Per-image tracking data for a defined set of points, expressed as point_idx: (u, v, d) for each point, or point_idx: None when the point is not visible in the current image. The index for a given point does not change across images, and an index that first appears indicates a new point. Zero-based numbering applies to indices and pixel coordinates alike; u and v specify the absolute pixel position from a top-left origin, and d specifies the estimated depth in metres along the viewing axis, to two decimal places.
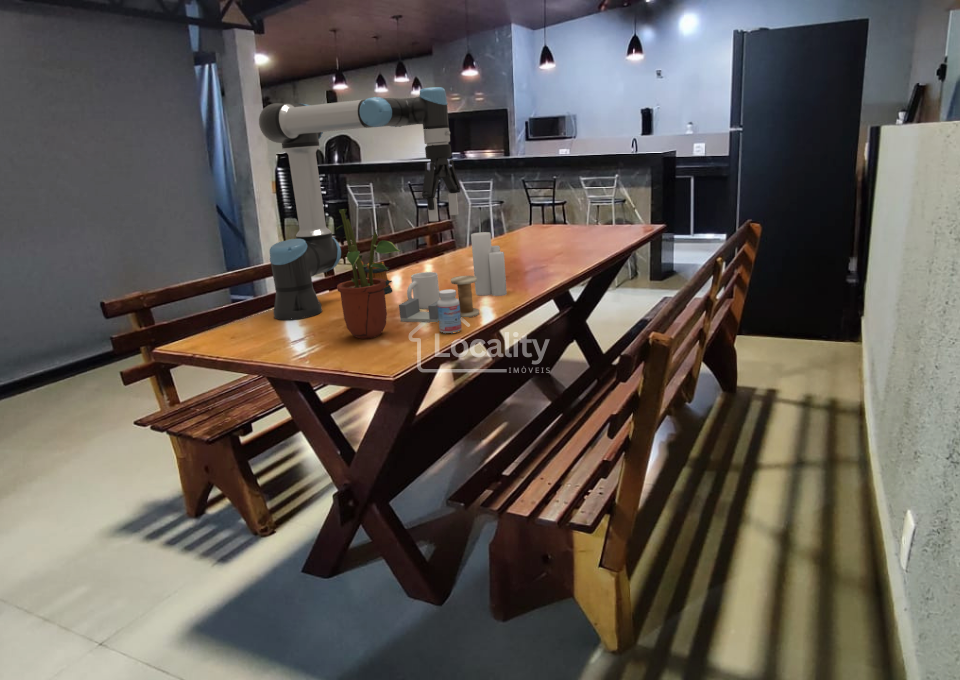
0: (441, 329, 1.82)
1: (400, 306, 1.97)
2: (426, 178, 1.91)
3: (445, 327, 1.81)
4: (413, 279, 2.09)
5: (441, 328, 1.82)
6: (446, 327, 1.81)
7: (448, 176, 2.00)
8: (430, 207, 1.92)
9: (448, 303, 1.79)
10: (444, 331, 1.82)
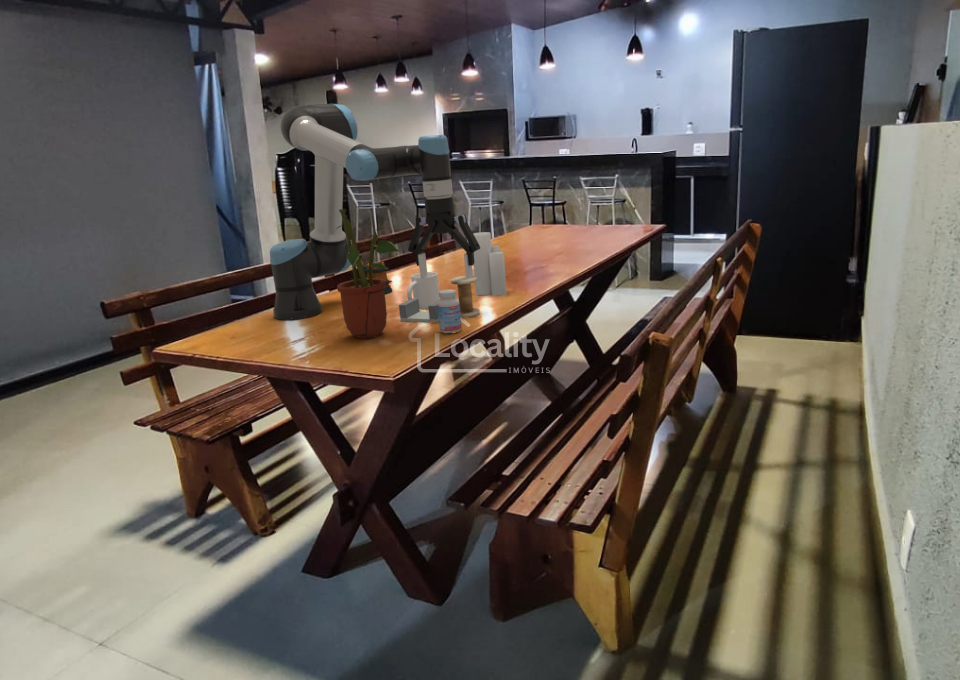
0: (441, 329, 1.82)
1: (400, 306, 1.97)
2: None
3: (445, 327, 1.81)
4: (413, 279, 2.09)
5: (441, 328, 1.82)
6: (446, 327, 1.81)
7: None
8: None
9: (448, 303, 1.79)
10: (444, 331, 1.82)
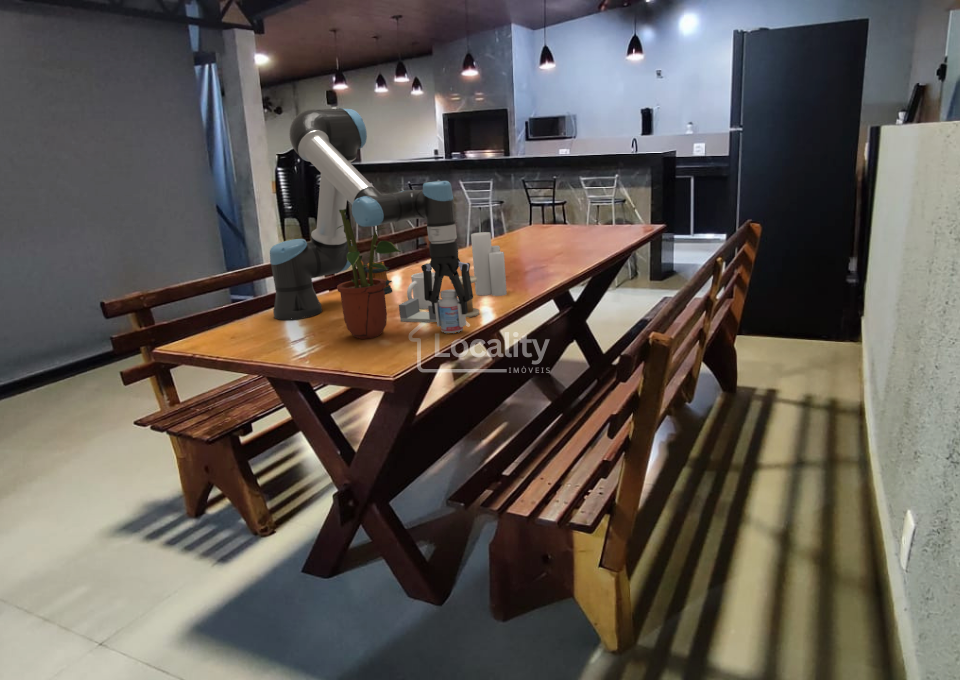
0: (443, 329, 1.82)
1: (400, 306, 1.97)
2: None
3: (447, 327, 1.81)
4: (413, 279, 2.09)
5: (443, 329, 1.82)
6: (447, 327, 1.81)
7: None
8: None
9: (450, 303, 1.79)
10: (446, 331, 1.82)
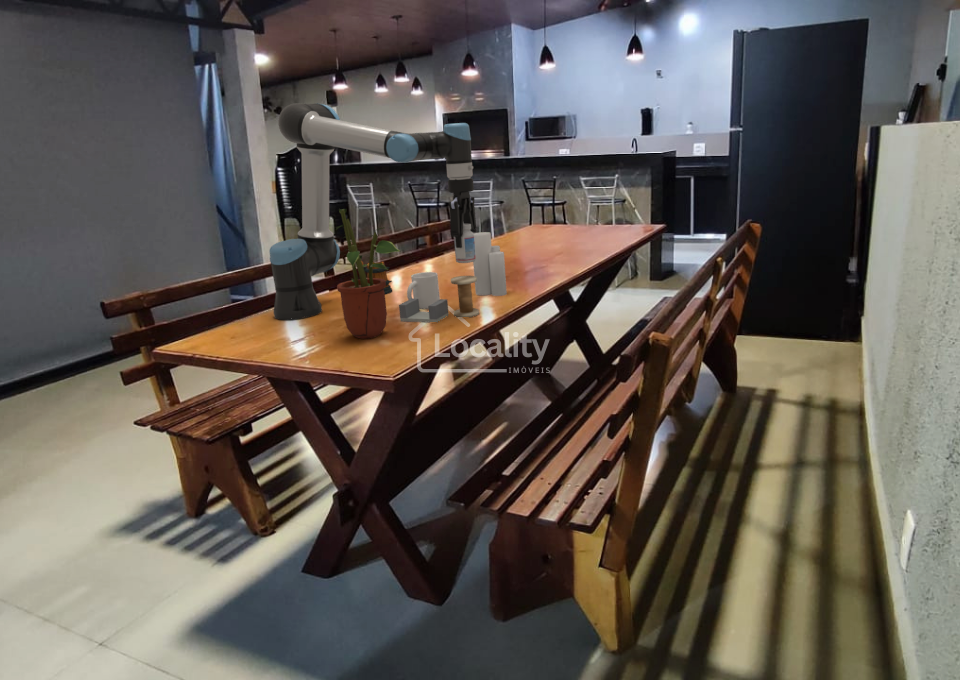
0: (471, 258, 2.02)
1: (400, 306, 1.97)
2: (452, 218, 1.95)
3: (474, 255, 2.03)
4: (413, 279, 2.09)
5: (472, 258, 2.02)
6: (474, 255, 2.03)
7: (468, 211, 2.01)
8: (458, 245, 1.98)
9: None
10: (474, 259, 2.03)
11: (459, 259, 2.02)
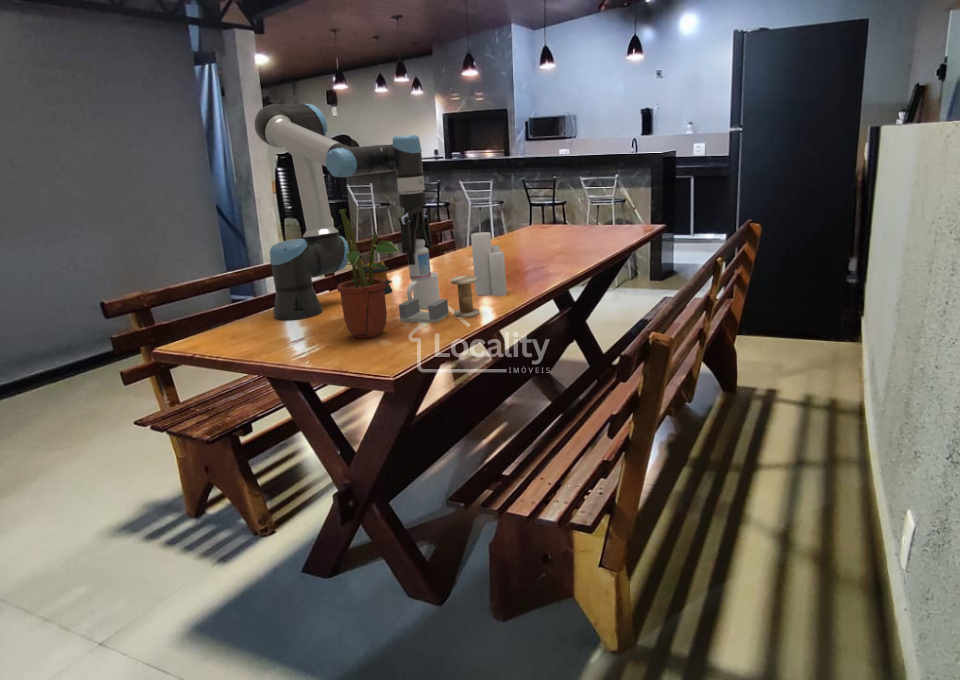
0: (425, 276, 1.94)
1: (400, 306, 1.97)
2: (403, 234, 1.87)
3: (429, 272, 1.95)
4: None
5: (426, 275, 1.94)
6: (429, 272, 1.95)
7: (421, 226, 1.93)
8: (411, 262, 1.90)
9: None
10: (428, 276, 1.94)
11: (413, 276, 1.94)
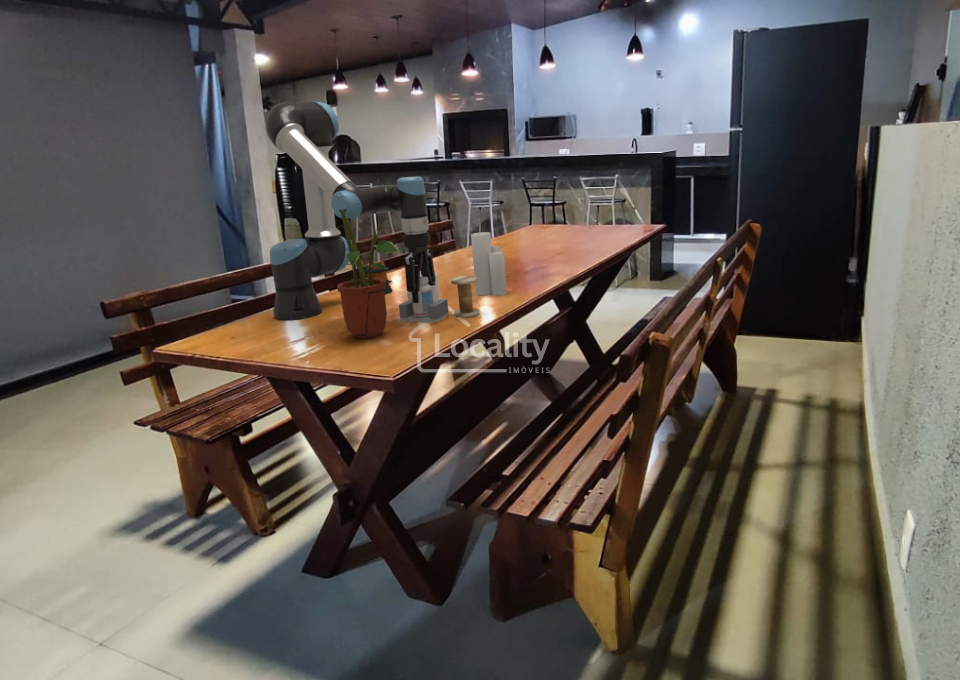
0: None
1: (400, 306, 1.97)
2: (407, 273, 1.90)
3: None
4: None
5: None
6: None
7: (425, 265, 1.96)
8: (415, 300, 1.93)
9: (430, 286, 1.97)
10: None
11: (416, 313, 1.97)
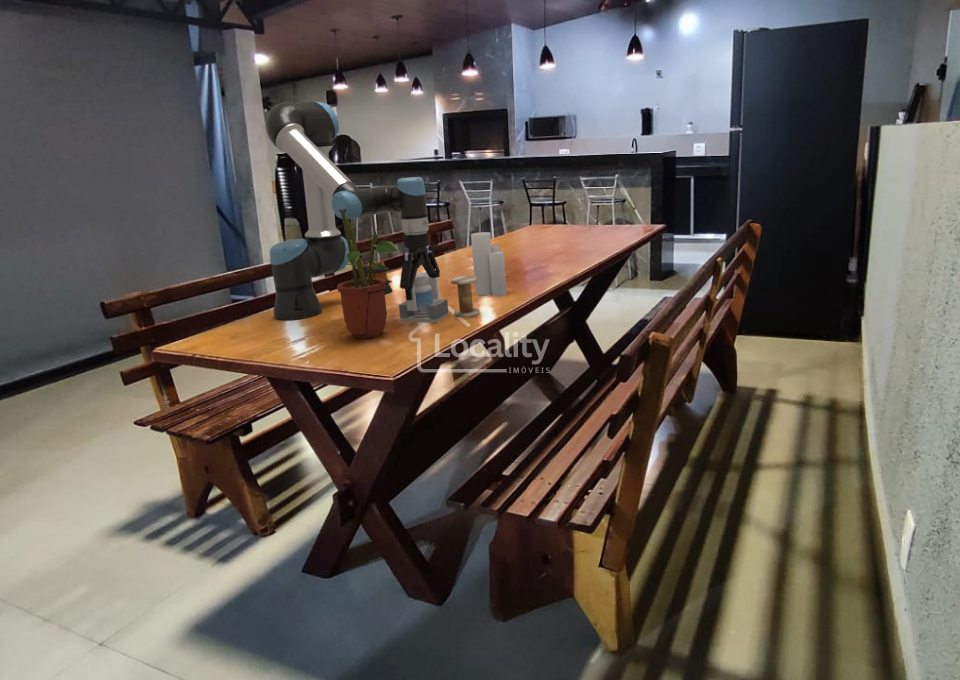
0: None
1: (400, 306, 1.97)
2: (403, 269, 1.88)
3: None
4: None
5: None
6: None
7: (427, 263, 1.97)
8: (408, 297, 1.90)
9: (430, 286, 1.97)
10: None
11: (416, 313, 1.97)
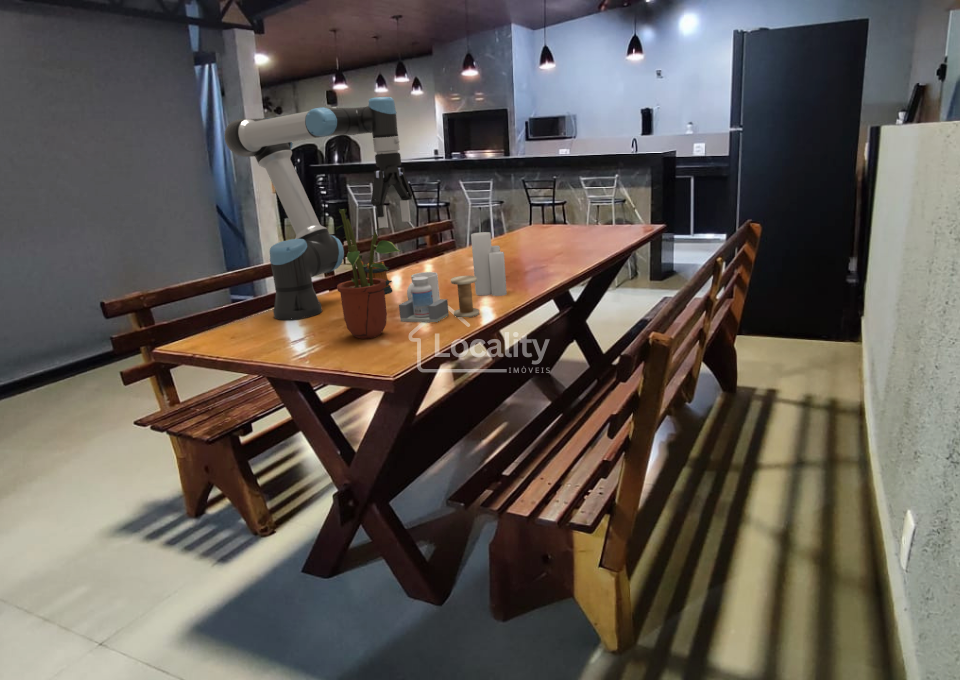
0: None
1: (400, 306, 1.97)
2: (375, 186, 1.94)
3: None
4: None
5: None
6: None
7: (399, 184, 2.03)
8: (380, 214, 1.96)
9: (430, 286, 1.97)
10: None
11: (416, 313, 1.97)
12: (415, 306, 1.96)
